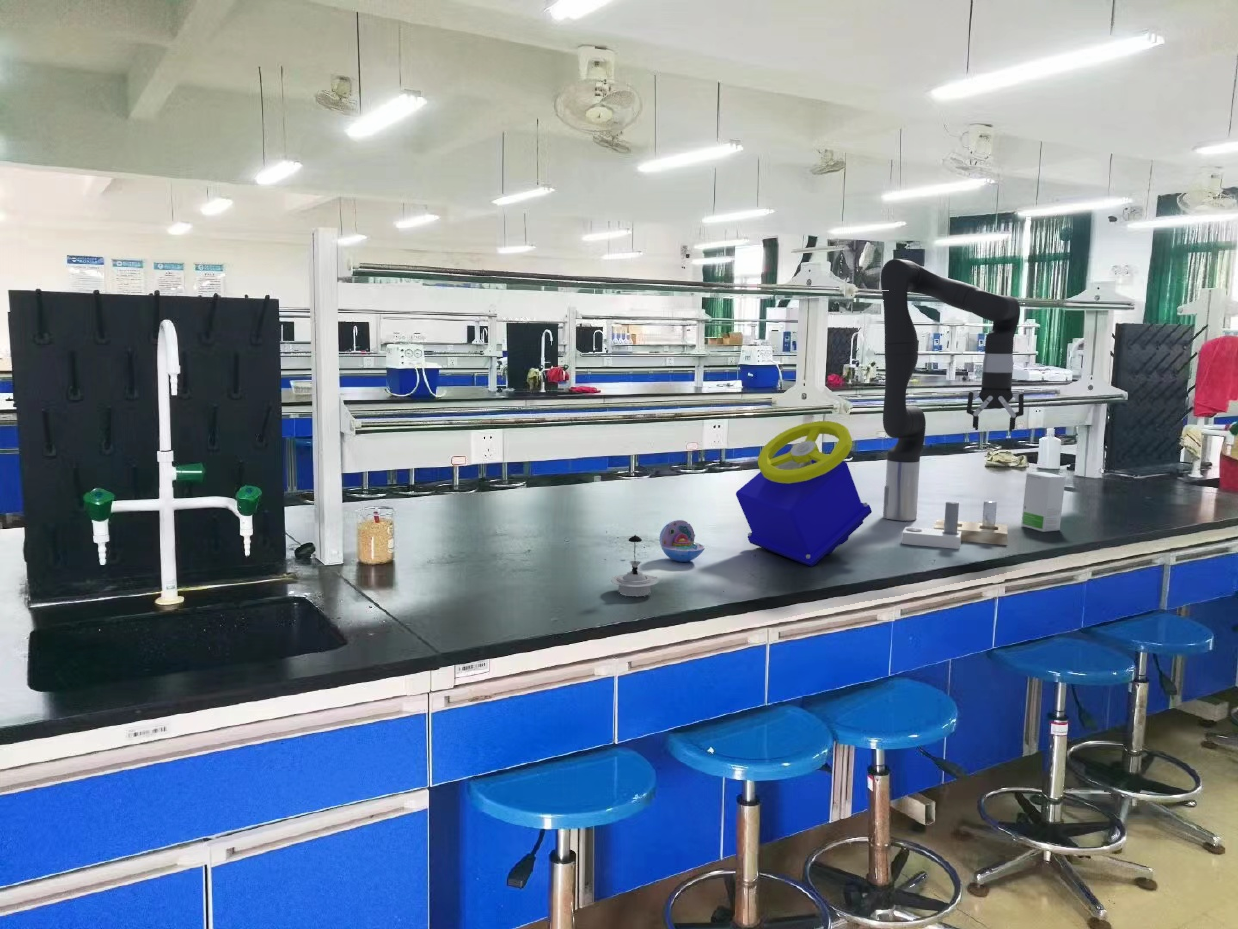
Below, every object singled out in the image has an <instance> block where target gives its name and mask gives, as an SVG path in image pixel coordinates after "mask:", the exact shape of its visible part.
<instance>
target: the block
mask: <svg viewBox="0 0 1238 929" xmlns="http://www.w3.org/2000/svg"><path fill="white" fill-rule="evenodd" d="M944 508H945V510H944V520H945V523H944V530H940V529H934V528H929V527H928V528H925V527H913V526H905V527H904V528H903V531H902V533H901V544H902V545H909V546H911V545H912V546H921V547H934V548H945V549H946V548H947V549H956V550H960V548H961V543H962V541H961V532H962V531H957V528H958V521H959V511H960V510H959V509H960V503H959V502H956V501H946V502H945V507H944Z"/></svg>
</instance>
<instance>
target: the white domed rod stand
mask: <svg viewBox="0 0 1238 929" xmlns="http://www.w3.org/2000/svg"><path fill="white" fill-rule="evenodd" d="M642 541H643V540H642V538H641V537H640V536H637V535H636V534H634V535H633V536H630V538H628V542H630V543H634V545H633V546H634V547H633V548H634V551H633V552H634V553H633V554H634V556H633V557H634V559H636V543H641V542H642ZM628 563H629V564H630V565H631V568H632V569H631V571H630V570H629V571H628V572H627V573H623V574H619V575H615V576H612V577H611V579H610V582H611V583H612V584H613V585H617V586H618V593H619V592H620V593H622V594H626V595H644V594H648V593H649V592H650V593H651V589H652V588H651V587H652V586H655V585H657V584H658V583H659V582H660V580H659V578H658V576H653V575H649V574H643V572H642V571H638V570H639V569H638V568H639V567H638V566H639V565H640V564H641V563H642V562H641V561H638V560H631V561H629V562H628Z"/></svg>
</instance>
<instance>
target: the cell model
mask: <svg viewBox="0 0 1238 929" xmlns="http://www.w3.org/2000/svg"><path fill="white" fill-rule="evenodd" d="M658 538H659V540H658V541H659V545H660V547H661V550H662V552H663V553H664V555H665V556H667V557H668V558H669V559H670V560H672V561H675V562H678V561H679V563H686V562H690V561H693V560H695V559H696V558H698V557H699V556H700V555H701V554H703V552H704V550H705V547H704V545H703V544H701V543H698V542H695V539H696V534H695V531H694V528H693V526H692V524H690V523H689V522H688V521H686V520H683V519H677V520H676V519H675V520H673V521H670V522H669V523H666V525H664V526H663V528H662V529H661V531H660V533H659V537H658Z"/></svg>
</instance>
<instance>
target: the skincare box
mask: <svg viewBox="0 0 1238 929" xmlns="http://www.w3.org/2000/svg"><path fill="white" fill-rule="evenodd" d="M1025 479H1026V480H1025V484H1024V486H1025V487H1024V496H1023V504H1022V512H1021V515H1022V516H1021V523H1020V526H1021V527H1024V528H1029V529H1032V530H1036V531H1038V532H1042V533H1043V532H1044V533H1045V532H1054V531H1055V532H1056V531H1060V529H1061V522H1062V521H1061V520H1062V509H1063V503H1064V502H1063V501H1064V494H1065V485H1066V476H1064V475H1063V476H1062V475H1059V474H1055V473H1051V472H1045V471H1034V472H1033V471H1032V472H1030V471H1029V472H1026V476H1025Z"/></svg>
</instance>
